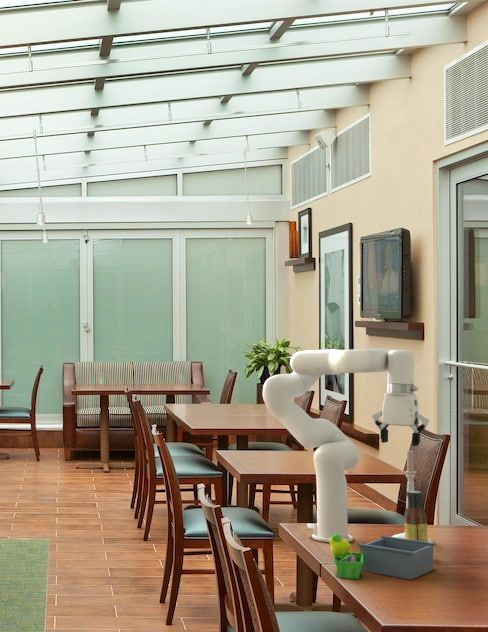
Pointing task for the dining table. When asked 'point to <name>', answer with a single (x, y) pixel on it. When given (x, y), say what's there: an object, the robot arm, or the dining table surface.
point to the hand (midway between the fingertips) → (399, 443)
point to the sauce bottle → (415, 518)
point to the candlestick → (409, 484)
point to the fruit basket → (345, 558)
